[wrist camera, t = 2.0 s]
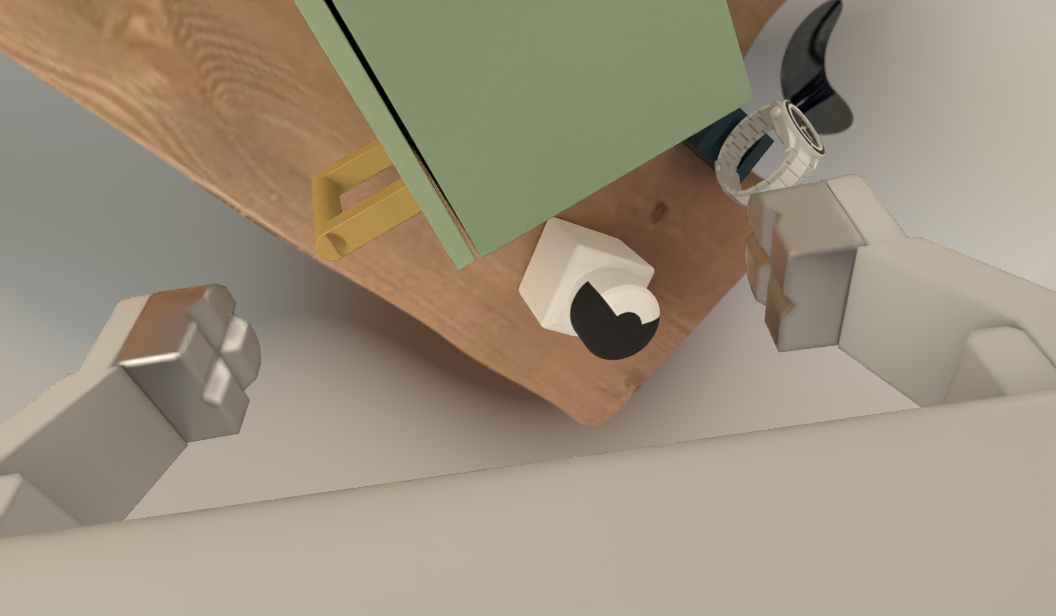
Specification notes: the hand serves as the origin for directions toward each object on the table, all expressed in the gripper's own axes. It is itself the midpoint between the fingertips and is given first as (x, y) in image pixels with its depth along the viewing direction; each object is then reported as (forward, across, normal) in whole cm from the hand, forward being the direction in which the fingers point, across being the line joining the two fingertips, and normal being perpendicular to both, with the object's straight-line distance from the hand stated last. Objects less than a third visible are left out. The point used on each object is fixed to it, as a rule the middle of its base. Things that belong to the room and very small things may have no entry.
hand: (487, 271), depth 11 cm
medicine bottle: (+38, -1, +31) cm, 49 cm away
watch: (+43, -14, +24) cm, 52 cm away
